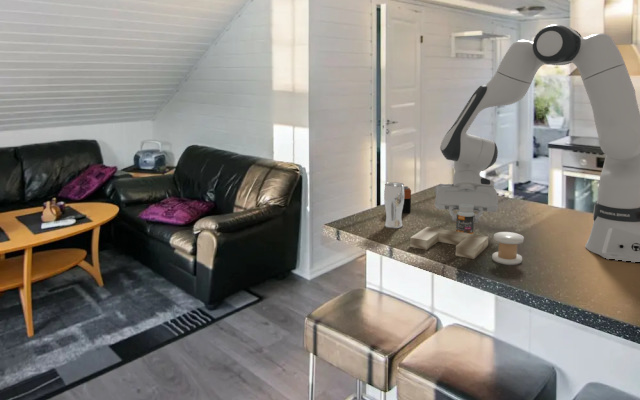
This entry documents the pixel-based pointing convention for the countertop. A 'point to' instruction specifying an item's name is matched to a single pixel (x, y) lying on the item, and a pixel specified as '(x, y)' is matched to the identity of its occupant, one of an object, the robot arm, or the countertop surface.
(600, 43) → the robot arm
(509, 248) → the spool
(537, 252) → the countertop surface
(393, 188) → the beer glass
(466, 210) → the pill bottle
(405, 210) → the battery
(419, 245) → the notched board
